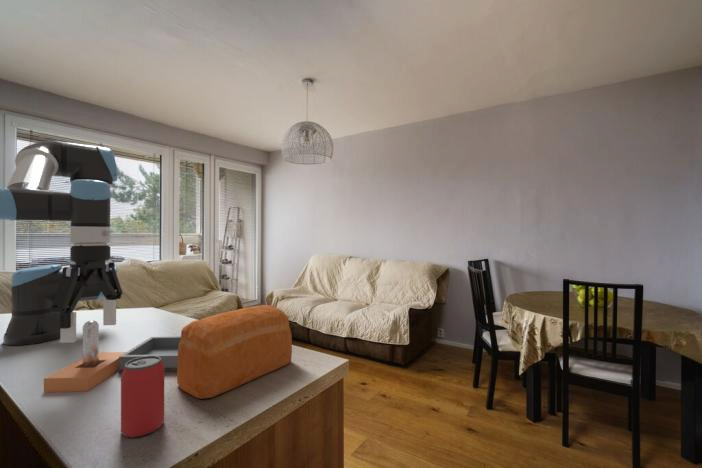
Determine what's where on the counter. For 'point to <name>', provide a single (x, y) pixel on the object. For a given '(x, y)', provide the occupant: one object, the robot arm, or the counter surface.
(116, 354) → the orange block with hole
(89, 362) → the pin
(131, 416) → the beer can
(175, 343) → the tray
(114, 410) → the counter surface
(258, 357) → the bread
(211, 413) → the counter surface
